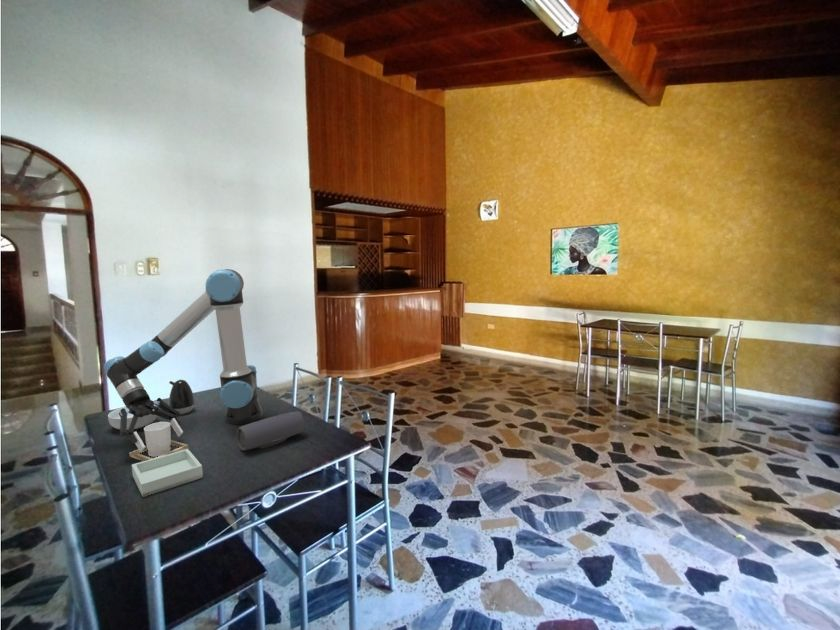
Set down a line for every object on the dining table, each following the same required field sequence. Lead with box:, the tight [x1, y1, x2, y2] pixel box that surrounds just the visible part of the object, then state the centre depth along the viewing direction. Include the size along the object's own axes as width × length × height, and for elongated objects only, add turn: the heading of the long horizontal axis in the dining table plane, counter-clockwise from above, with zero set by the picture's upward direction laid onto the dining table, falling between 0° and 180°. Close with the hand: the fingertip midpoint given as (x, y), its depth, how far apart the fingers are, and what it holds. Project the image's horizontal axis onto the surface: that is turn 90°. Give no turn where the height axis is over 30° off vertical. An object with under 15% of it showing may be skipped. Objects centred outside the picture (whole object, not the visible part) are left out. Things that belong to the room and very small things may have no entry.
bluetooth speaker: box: [236, 410, 306, 451], centre depth 153 cm, size 23×9×10 cm, turn 135°
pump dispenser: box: [168, 379, 196, 415], centre depth 184 cm, size 10×10×15 cm
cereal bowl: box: [107, 405, 158, 431], centre depth 169 cm, size 17×17×7 cm
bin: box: [131, 449, 204, 498], centre depth 129 cm, size 16×16×4 cm
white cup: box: [143, 421, 172, 458], centre depth 146 cm, size 8×8×10 cm
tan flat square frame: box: [128, 439, 189, 462], centre depth 146 cm, size 13×13×2 cm
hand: (162, 441), depth 145 cm, fingers open, 13 cm apart
